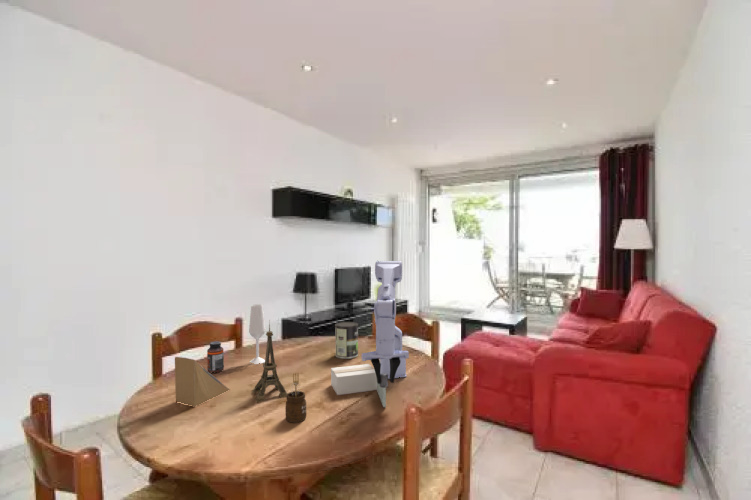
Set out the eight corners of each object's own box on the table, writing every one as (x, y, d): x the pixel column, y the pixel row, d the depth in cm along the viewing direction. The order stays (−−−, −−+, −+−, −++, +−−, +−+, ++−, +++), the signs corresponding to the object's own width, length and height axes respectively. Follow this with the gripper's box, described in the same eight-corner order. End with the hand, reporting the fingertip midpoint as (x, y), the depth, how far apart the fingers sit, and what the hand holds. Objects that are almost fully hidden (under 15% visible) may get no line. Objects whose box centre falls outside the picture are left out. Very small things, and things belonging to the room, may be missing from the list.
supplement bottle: (205, 370, 151) (205, 342, 151) (221, 367, 155) (221, 339, 155) (209, 374, 147) (209, 345, 146) (225, 371, 150) (225, 342, 150)
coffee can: (358, 352, 176) (358, 321, 176) (357, 359, 166) (357, 326, 165) (336, 352, 176) (336, 321, 176) (333, 358, 166) (333, 326, 165)
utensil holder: (285, 424, 107) (284, 381, 107) (285, 414, 113) (285, 373, 113) (306, 422, 108) (306, 380, 108) (306, 412, 114) (305, 372, 114)
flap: (374, 390, 130) (374, 362, 130) (381, 389, 131) (381, 362, 130) (380, 407, 117) (380, 376, 116) (388, 406, 117) (388, 376, 117)
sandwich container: (231, 390, 132) (231, 346, 131) (195, 408, 118) (194, 359, 117) (213, 386, 135) (212, 344, 135) (175, 403, 121) (174, 356, 121)
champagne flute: (260, 358, 167) (260, 303, 167) (268, 361, 163) (268, 305, 162) (246, 361, 162) (245, 305, 162) (254, 365, 158) (253, 307, 157)
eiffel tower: (256, 402, 121) (255, 324, 121) (251, 390, 131) (250, 318, 130) (289, 396, 126) (288, 321, 125) (282, 385, 135) (282, 315, 135)
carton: (368, 380, 140) (368, 363, 140) (377, 389, 131) (377, 371, 131) (331, 384, 136) (330, 367, 136) (337, 395, 127) (337, 376, 127)
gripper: (364, 343, 113) (364, 388, 113) (411, 340, 115) (411, 385, 116) (360, 337, 120) (360, 380, 120) (405, 335, 122) (405, 377, 123)
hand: (385, 382), depth 118 cm, fingers open, 3 cm apart
